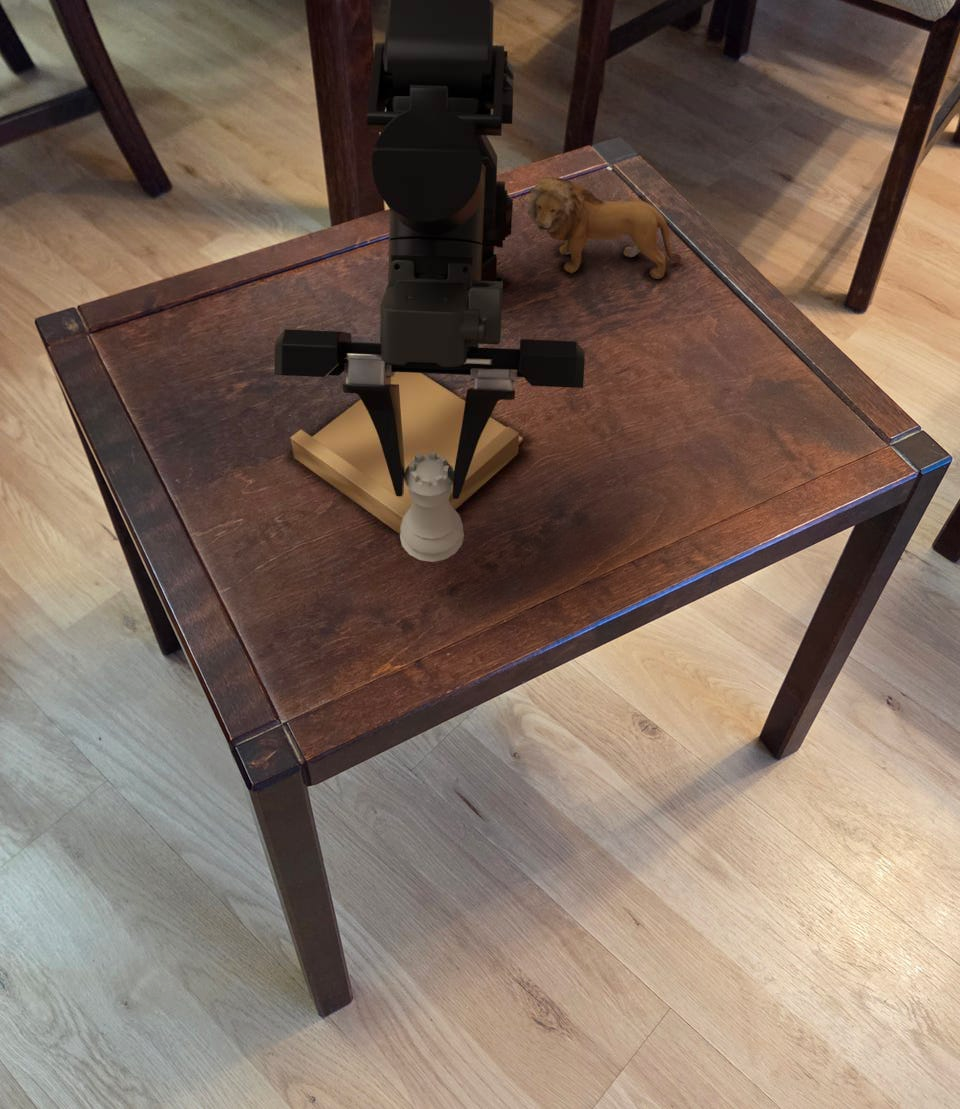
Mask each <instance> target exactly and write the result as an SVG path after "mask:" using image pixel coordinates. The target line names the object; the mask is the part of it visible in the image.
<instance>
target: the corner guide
mask: <svg viewBox="0 0 960 1109" xmlns="http://www.w3.org/2000/svg"><path fill="white" fill-rule="evenodd" d="M391 384H399V393H400V407H401V421H402V435H403V450H404V464H405V470H406V468H407V467H408V466H409V464H410V461H415V455H417V454H419V453H422V455H423V457H424V456H429V451H432V452H436V457H439V458H440V457H441V456H442V455H443V456H444V457H445V458H446V459H447V462H448V463H449V464H450V465H451V466H452V467H453V470H454V468H455V463H456V457H457V451H458V445H459V439H460V433H461V427H462V421H463V415H464V408H465V401H466V400H464V399H463V398H461V397H460V396H458V395H456V394H455V393H453V392H452V391H451V390H448V389H447V388H445V387H444V386H442V385H440V384H439V383H437V382H436V381H434V380H433V379H431V378H430V377H428V376H427V375H426V374H424V373H410V372H394V376H393V377H391ZM522 442H524V438H523V437H522V436H520V432H518V431H517V430H515V429H514V428H512V427H511V426H509V425H508V426H505V425H504V424H502V423H500V422H499V421H497V420H495V419H494V418H492V417H491V416H490V418H489V420H488V422H487V424H486V426H485V428H484V430H483V432H482V434H481V436H480V438H479V441H478V444H477V447H476V450H475V453H474V455H473V458H472V461H471V464H470V467H469V470H468V473H467V476H466V479H465V482H464V485H463V488H462V491H461V494H460V496H459V499H453V484H452V485H451V489H452V491H451V495H450V497H449V503H450V505H451V506H452V507H453V508H454V509H455V511H457V509H458V508H459V507H460V506H461V505H462V504H463V503H464V502H466V501H467V500H468V499H469V498H470V497H471V496H472V495H474V494H475V493H476V492H477V491H478V490H479V489H480V488H482V486H483V485H485V484H486V483H487V482H488V481H490V479H491V478H492V477H494V476H495V475H496V474H497V473H498V472H500V470H502V469H503V468H504V467H505V466H506V465H507V464H508V463H509V462H511V461H512V460H513V459H514V458H515V457H516V456H518V454H519V445H521V443H522ZM290 443H291V448H292V453H293V458H294V459H295V460H296V461H298V462H299V463H301V465H303V466H305V467H306V468H308V469H309V470H310V471H311V472H313V473H315V474H316V475H317V476H318V477H320V478H321V479H322V480H324V481H325V482H327V483H328V484H330V485H331V486H333V487H334V489H337V491H339V492H340V493H342V494H343V495H344V496H346V497H347V498H349V499H351V500H352V501H353V502H355V503H356V504H357V505H359V506H360V507H362V508H363V509H364V510H366V511H367V512H369V513H370V514H371V515H372V516H374V517H375V518H377V519H378V520H379V521H381V522H382V523H384V524H385V525H387V527H389V528H390V529H392V530H393V531H395V532H396V533H398V534H399V535H400V533H401V530H400V527H401V523H402V519H403V516H404V515H405V514H406V513H407V511H408V510H409V509H410V507H411V505H412V499H411V498H410V495H409V491H408V490H409V487H408V486H407V485H406V483H405V479H404V494H403V496H396V494H395V491H394V487H393V484H392V480H391V477H390V474H389V470H388V467H387V463H386V460H385V456H384V453H383V450H382V445H381V443H380V440H379V437H378V434H377V431H376V429H375V426H374V424H373V422H372V420H371V417H370V415H369V413H368V411H367V409H366V407H365V405H364V404H363V402H362V400H361V398H360V399H359V400H358V401H357V402H355V403H354V404H353V405H351V406H350V407H349V408H347V409H346V410H344V411H343V412H342V413H341V414H340V415H338V416H336V418H334V419H333V420H332V421H330V422H329V423H328V424H327V425H325V426H324V427H323V428H322V429H320V430H319V431H317V432H316V433H315V434H314V435H313V436H312V435H310V434H309V433H308V432H306V431H304V430H303V429H299V430H298V431H297V432H295V433H294V434H293V435H291V436H290Z"/></svg>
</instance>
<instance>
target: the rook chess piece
mask: <svg viewBox="0 0 960 1109" xmlns="http://www.w3.org/2000/svg"><path fill="white" fill-rule="evenodd" d="M453 475H454V470H453V467H452V466H451V465H450V464H449V463H448V462H447V459H446V458H445V457H444V456H443V455H442V456H441V457H440V458H439V457H436V452H432V451H429V456H424V457H423V455H422V453H419V454H417V455H415V461H410V464H409V466H408V467H407V468H406V470H405V474H404V479H405V483H406V485H407V486H408V487H409V490H408V491H409V495H410V498H411V499H412V505H411V507H410V509H409V510H408V511H407V513H406V514H405V515H404V516H403V519H402V523H401V527H400V530H401V533H400V534H399V538H400V544H401V546H402V548H403V549H404V550H405V551H406V552H407V554H408V555H409V556H411V557H413V558H415V559H417V560H419V561H423V562H424V561H425V562H430V563H433V562H439V561H444V560H447V559H448V558H450V557H452V556H453V555H455V554H456V553H457V552H458V551H459V549H460V548H461V547H462V545H463V544H464V543H463V542H464V537H465V531H464V525H463V521H462V518H461V515H460V514H459V512H457V510H455V509H454V508H453V507H452V506H451V505H450V503H449V497H450V495H451V491H452V489H451V485H452V484H453Z"/></svg>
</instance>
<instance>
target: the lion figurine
mask: <svg viewBox="0 0 960 1109" xmlns="http://www.w3.org/2000/svg"><path fill="white" fill-rule="evenodd" d="M529 197H530V200H529V202H528V209H527V213H528V216H529V219H530V220H531V222H532V223H533V224H534V225H535V226H536V227H537V228H538V231H539V232H541V233H548V235H549V237H551V239H554V240H555V241H564V242H565V243H564V244H562V245H561V246H560V247H559V253H560V254H561V255H565V256H567V255H570V261H566V262H565V264H564V266H563V269H564V270H565V271H566V272H568V273H569V274H573V273H575V272H577V271H578V270H579V268H580V265H581V263H582V253H583V249H584V246H585V245H586V244H587V242H588V239H592V240H598V241H611V240H612V241H613V240H617V239H619V238H621V237H624V236H626V235H628V236H629V237H630V238H631V240H632V241H633V243H634V246H626V247H625V248H624V249H623V255H624V256H625V257H628V258H632V257H636V256H637V255H638V254H639V253H641V254H643V255H644V256H645V257H646V258H648V259H649V260H651V261H652V262H653V263H654V264H655V265H656V267H655V266H654V267H653V268H652V269H650V271H649V275H650V276H651V277H652V278H653V279H655V280H659V279H662V278H663V277H664V275H665V273H666V269H667V268H666V267H667V264H666V263H667V261H666V259H667V258H668V259H669V260H670V261H673V262H679V261H681V260H682V255H681V254H678V253H674V252H673V251H672V248H671V238H670V231H669V228H668V223H667V221H666V218H665V217H664V216H663V215H662V214H661V212H660V211H659V210H658V209H657V208H656V207H655V206H654V205H652V204H650V203H648V202H647V201H644V200H640V199H639V200H638V199H636V200H625V201H613V200H604V199H599V198H598V197H596V196H595V194H594V193H593V192H592V191H591V190H590V189H588V188H585V187H584V186H580V184H579V183H573V182H572V181H571V180H570V179H565V178H560V177H546V178H545V177H544V178H542V179H540V180H539V181H538V182H537V183H536V184H535V186H534V187H532V188H531V189H530V195H529ZM658 229H660V233H661V237H662V241H663V246H664V247H663V248H664V251H665V253H663V252H662V251H661V250H660V247H659V245H658V241H657V236H658V235H657V234H658ZM665 254H666V255H665ZM666 256H667V258H666Z"/></svg>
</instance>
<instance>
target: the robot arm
mask: <svg viewBox="0 0 960 1109" xmlns="http://www.w3.org/2000/svg"><path fill="white" fill-rule="evenodd" d="M494 7H495V6H494V2H493V0H388V2H387V10H386V12H387V13H386V23H385V34H384V35H385V36H384V41H375V44H374V50H373V57H372V58H373V59H372V67H371V76H370V85H369V91H368V92H369V93H368V101H367V109H366V110H367V111H366V125H367V127H368V129H369V131H370V133H379V135H378V136H377V137H376V141H375V144H374V147H373V149H372V152H371V160H370V161H371V162H370V167H371V175H372V180H373V182H374V186H375V188H376V190H377V193H378V194H379V195H380V197H381V198H382V200H383V201H384V203H385V204H386V206H387V208H388V209H389V236H388V237H389V238H388V241H389V242H388V269H387V270H388V271H387V272H388V274H387V275H388V276H387V277H388V278H387V286H386V287H385V290H384V293H383V295H382V296H383V297H382V299H381V303H380V305H379V308H380V309H379V310H380V314H379V315H380V329H379V330H380V332H379V335H380V336H379V342H356V341H355V342H354V341H352V334H351V333H350V332H344V331H339V330H337V331H334V330H314V329H313V330H312V329H289V328H288V329H287V328H285V329H284V330H282V332H281V333H280V334H279V335H278V336H277V337H276V339H275V345H274V368H273V369H274V370H273V371H274V373H273V374H274V376H290V377H310V378H311V377H312V378H313V377H314V378H326V377H327V376H329V377H330V376H333V377H334V376H335V377H341V376H342V375H343V374H344V376H345V383H343V384H342V392H343V393H344V394H356V395H357V396H358V397H359V398H360V399H361V400H362V402H363V404H364V405H365V407H366V409H367V411H368V413H369V415H370V417H371V420H372V422H373V424H374V426H375V429H376V431H377V434H378V437H379V440H380V443H381V445H382V450H383V453H384V456H385V460H386V463H387V467H388V470H389V474H390V477H391V480H392V484H393V487H394V491H395V494H396V496H403V494H404V474H405V464H404V450H403V435H402V421H401V407H400V393H399V384H391V377H393V376H394V373H395V372H410V373H422V374H432V375H433V374H434V375H435V374H436V375H458V376H459V375H462V376H470V379H469V380H470V381H473V387H469V388H468V389H467V390H466V394H465V400H464V401H465V408H464V415H463V421H462V427H461V433H460V439H459V445H458V451H457V457H456V463H455V468H454V475H453V499H459V496H460V494H461V491H462V488H463V485H464V482H465V479H466V476H467V473H468V470H469V467H470V464H471V461H472V458H473V455H474V453H475V450H476V447H477V444H478V441H479V438H480V436H481V434H482V432H483V430H484V428H485V426H486V424H487V422H488V420H489V418H490V417H491V416H492V414H493V412H494V410H495V408H496V406H497V404H498V402H499V401H502V400H503V401H515V400H516V390H515V389H514V383H518V378H524V380H526V382H527V383H528V384H529V385H530V386H531V387H547V388H549V387H551V388H568V389H569V388H573V389H584V383H585V382H584V379H585V362H586V358H585V354H586V353H585V352H586V351H585V350H584V348H582V346H581V345H580V344H579V343H578V342H577V340H575V341H573V340H556V339H555V340H551V339H530V338H529V339H528V338H520V339H519V348H498V347H479V345H500V344H501V336H502V316H503V315H502V314H503V291H504V288H503V287H504V284H505V278H504V277H503V276H501V275H500V274H498V273H497V270H498V269H497V268H498V266H497V265H498V256H497V254H496V253H495V247H496V248H501V249H502V248H503V247H504V241H506V239H507V237H509V236H510V235H512V223H513V208H514V207H513V204H514V200H513V198H512V197H511V196H510V195H509V193H508V189H506V181H505V180H498V154H497V152H496V151H495V149H494V147H493V145H492V143H491V142H490V139H489V137H488V136H490V137H491V136H494V137H502V132H503V131H502V128H503V125H513V112H514V110H513V109H514V108H513V107H514V80H515V78H514V76H515V74H514V73H515V72H514V71H515V67H514V65H513V64H512V63H511V61H509V60H508V50H505V45H504V44H495V45H494V15H495V14H494V11H495V10H494V9H495V8H494Z"/></svg>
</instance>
